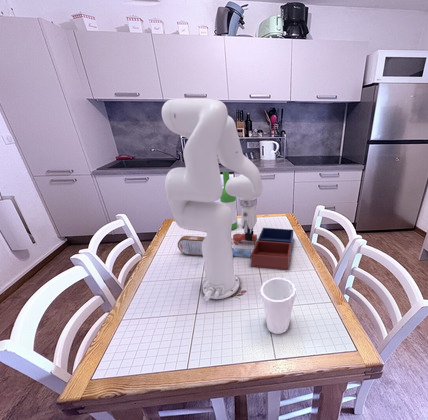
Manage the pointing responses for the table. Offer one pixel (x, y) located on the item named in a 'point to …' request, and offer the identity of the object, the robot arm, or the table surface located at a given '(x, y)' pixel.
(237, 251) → the blue spoon
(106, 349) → the table surface
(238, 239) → the red spoon
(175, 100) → the robot arm
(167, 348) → the table surface
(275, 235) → the blue bin
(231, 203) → the wine bottle
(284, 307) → the foam cup
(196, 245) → the tin
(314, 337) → the table surface
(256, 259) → the red bin
